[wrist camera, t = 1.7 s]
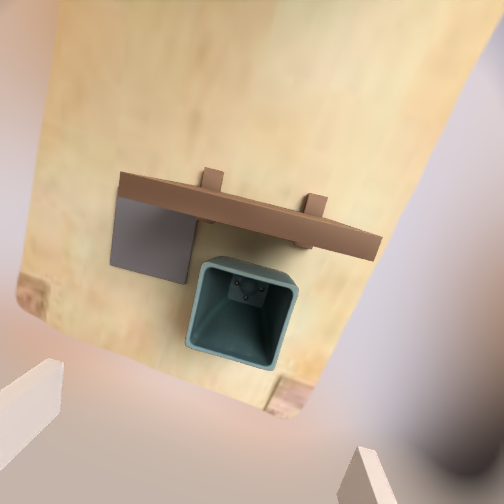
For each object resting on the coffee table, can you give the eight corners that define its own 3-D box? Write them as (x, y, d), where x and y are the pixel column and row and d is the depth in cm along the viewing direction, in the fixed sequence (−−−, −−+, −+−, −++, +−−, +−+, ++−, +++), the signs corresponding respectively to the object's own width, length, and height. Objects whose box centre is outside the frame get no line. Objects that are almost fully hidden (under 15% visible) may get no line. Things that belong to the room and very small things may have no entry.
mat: (121, 186, 29) (118, 186, 28) (200, 206, 28) (198, 206, 28) (112, 263, 31) (109, 264, 30) (185, 283, 31) (184, 284, 30)
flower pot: (223, 242, 29) (201, 260, 20) (292, 261, 29) (301, 287, 20) (208, 306, 31) (183, 347, 22) (273, 324, 31) (273, 373, 22)
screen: (199, 166, 27) (124, 131, 14) (334, 199, 27) (397, 198, 13) (190, 216, 29) (114, 231, 15) (318, 249, 28) (360, 295, 15)
